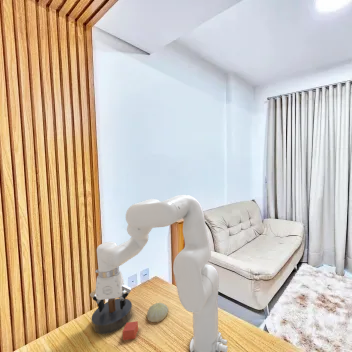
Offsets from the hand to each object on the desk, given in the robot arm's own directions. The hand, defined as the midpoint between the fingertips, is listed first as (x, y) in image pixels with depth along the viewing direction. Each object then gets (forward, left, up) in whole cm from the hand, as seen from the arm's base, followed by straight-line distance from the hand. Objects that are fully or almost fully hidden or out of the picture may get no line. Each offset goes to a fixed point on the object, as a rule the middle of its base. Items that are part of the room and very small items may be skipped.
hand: (112, 308), depth 91 cm
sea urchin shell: (-17, -9, -6) cm, 20 cm away
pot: (0, 0, -6) cm, 6 cm away
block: (-14, +3, -6) cm, 15 cm away
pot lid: (0, 0, -2) cm, 2 cm away
